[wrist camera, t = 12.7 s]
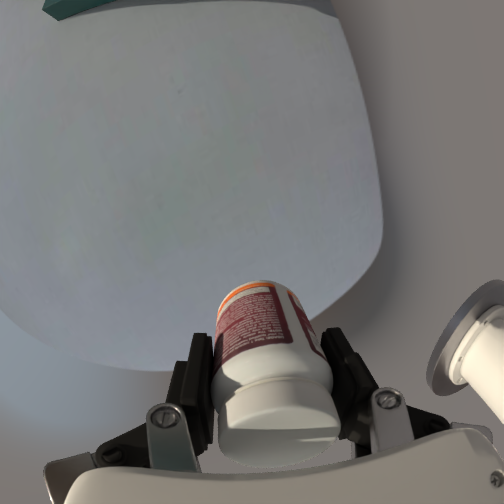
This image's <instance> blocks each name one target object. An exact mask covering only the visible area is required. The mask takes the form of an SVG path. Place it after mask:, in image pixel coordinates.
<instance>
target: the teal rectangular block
mask: <svg viewBox="0 0 504 504" xmlns="http://www.w3.org/2000/svg"><path fill="white" fill-rule="evenodd" d="M113 1H116V0H45V3H44V5H43V8H42V10H43V11H45V12H46V13H47V14H49V15H50V16H52V17H53V18H55V19H56V20H57V21H60V20H62V19H64V18H67V17H69V16H72V15H74V14H77V13H79V12H82V11H85V10H88V9H90V8H93V7H96V6H99V5H103V4H106V3H109V2H113Z"/></svg>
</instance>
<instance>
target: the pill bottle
mask: <svg viewBox="0 0 504 504" xmlns="http://www.w3.org/2000/svg"><path fill="white" fill-rule="evenodd" d="M332 390H333V374H332V370H331V367H330V365H329V363H328V361H327V359H326V357H325V355H324V352H323V350H322V348H321V346H320V344H319V342H318V339H317V337H316V335H315V333H314V331H313V329H312V327H311V325H310V322H309V320H308V318H307V316H306V314H305V312H304V310H303V308H302V306H301V304H300V302H299V300H298V298H297V297H296V295H295V294H294V293H293V292H292V291H291V290H289V289H288V288H287V287H285V286H283V285H281V284H279V283H276V282H272V281H266V280H260V281H252V282H248V283H245V284H243V285H241V286H239V287H237V288H235V289H234V290H233V291H231V292H230V293H229V294H228V295H227V296H226V297H225V299H224V300H223V302H222V303H221V305H220V308H219V311H218V316H217V325H216V335H215V346H214V356H213V367H212V378H211V385H210V393H211V399H212V403H213V406H214V408H215V409H216V411H217V413H218V414H219V415H218V443H219V447H220V449H221V451H222V453H223V454H224V455H225V456H226V457H228V458H229V459H231V460H232V461H235V462H237V463H239V464H242V465H245V466H250V467H257V468H276V467H284V466H289V465H294V464H297V463H301V462H303V461H306V460H308V459H311V458H313V457H315V456H317V455H318V454H320V453H322V452H323V451H325V450H326V449H328V448H329V447H330V446H331V445H332V444H333V443H334V442H335V441H336V439H337V437H338V435H339V433H340V430H341V423H340V419H339V416H338V413H337V410H336V408H335V405H334V402H333V399H332V397H331V393H332Z"/></svg>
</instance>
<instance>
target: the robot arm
mask: <svg viewBox="0 0 504 504" xmlns="http://www.w3.org/2000/svg"><path fill="white" fill-rule="evenodd" d="M320 346H321V348H322V350H323V352H324V355H325V357H326V359H327V361H328V363H329V365H330V367H331V370H332V374H333V390H332V393H331V397H332V399H333V402H334V405H335V408H336V410H337V413H338V416H339V419H340V423H341V430H340V433H339V435H338V437H339V440H342V439H346V438H347V439H348V440H350V441H352V443H351V449H352V459H351V460H347V461H342V462H338V463H333V464H328V465H323V466H318V467H311V468H304V469H297V470H289V471H279V472H268V473H249V474H211V473H210V474H209V473H202V472H201V468H200V465H199V461H198V457H197V456H199V455H200V454H202V453H203V452H204V450H207V448H208V447H207V446H208V444H212V443H213V426H214V409H215V408H214V406H213V403H212V399H211V393H210V385H211V378H212V367H213V347H212V337H211V336H207V333H194V335H193V339H192V343H191V348H190V352H189V357H188V361H177V362H176V364H175V367H174V371H173V375H172V379H171V383H170V386H169V390H168V394H167V399H166V402H165V403H161V404H157V405H155V406H153V407H152V408H151V409H150V410H149V411H148V413H147V415H146V423H144V424H142V425H140V426H139V427H136V428H135V429H132V430H131V431H128V432H126V433H124V434H122V435H120V436H118V437H116V438H114V439H112V440H110V441H107V442H105V443H103V444H102V445H100V446H99V447H98V449H97V450H96V452H95V453H92V454H90V452H87V453H83V454H79V455H76V456H72V457H68V458H64V459H60V460H56V461H52V462H49V463H47V465H46V466H45V467H44V470H43V475H44V479H45V483H46V486H47V489H48V492H49V495H50V498H51V501H52V504H504V460H503V459H502V457H501V456H500V454H499V453H498V451H497V450H496V449H495V447H494V446H493V442H492V441H493V439H492V438H493V437H492V432H491V431H490V429H489V428H487V427H485V426H480V425H471V424H464V423H457V422H452V423H451V424H449V423H448V421H447V420H446V419H445V418H443V417H442V416H439V415H436V414H432V413H429V412H426V411H423V410H420V409H417V408H413V407H411V406H408V405H406V403H405V399H404V397H403V395H402V394H401V393H400V392H399V391H398V390H396V389H393V388H388V387H384V388H379V387H378V385H377V383H376V382H375V380H374V378H373V376H372V375H371V373H370V371H369V370H368V368H367V366H366V365H365V363H364V361H363V360H362V358H361V356H360V355H359V354H358V353H357V352H354V351H353V349H352V348H351V346H350V344H349V342H348V341H347V339H346V338H345V336H344V334H343V332H342V331H341V329H340V328H338V327H336V328H327V330H326V332H323V333H322V338H321V344H320ZM449 378H450V380H451V381H452V382H453V383H454V384H456V385H461V384H465V383H467V382H468V383H469V384H470V385H471V386H472V387H473V389H474V390H475V391H476V392H477V393H478V394H479V395H480V397H481V398H482V399H483V400H484V401H485V402H486V404H487V405H488V406H489V407H490V408H491V409H492V410H493V412H494V413H495V414H496V415H497V417H498V418H499V419H500V420H501V421H502V423H503V424H504V306H502V305H495V306H493V307H491V308H490V309H488V310H487V311H486V312H484V313H483V314H482V315H481V316H480V317H479V318H478V319H477V320H476V322H475V323H474V324H473V325H472V326H471V328H470V329H469V331H468V332H467V333H466V335H465V336H464V338H463V339H462V341H461V342H460V344H459V346H458V348H457V350H456V352H455V354H454V356H453V358H452V361H451V364H450V368H449Z"/></svg>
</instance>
